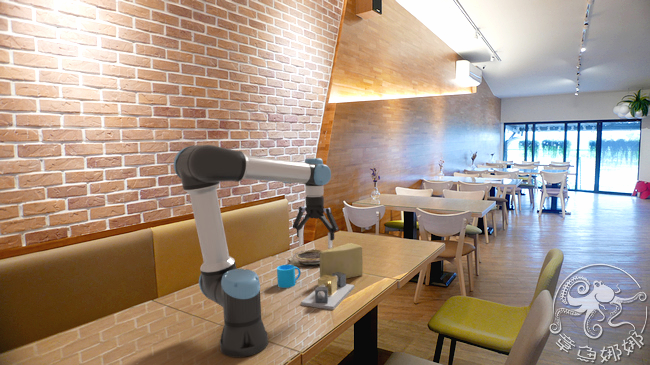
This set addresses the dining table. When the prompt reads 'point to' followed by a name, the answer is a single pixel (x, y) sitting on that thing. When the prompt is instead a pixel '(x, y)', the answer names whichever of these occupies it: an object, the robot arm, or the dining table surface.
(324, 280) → the block
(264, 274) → the dining table surface
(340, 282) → the shaft right
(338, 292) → the grey base plate
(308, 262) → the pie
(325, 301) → the shaft left
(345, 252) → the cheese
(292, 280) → the mug
